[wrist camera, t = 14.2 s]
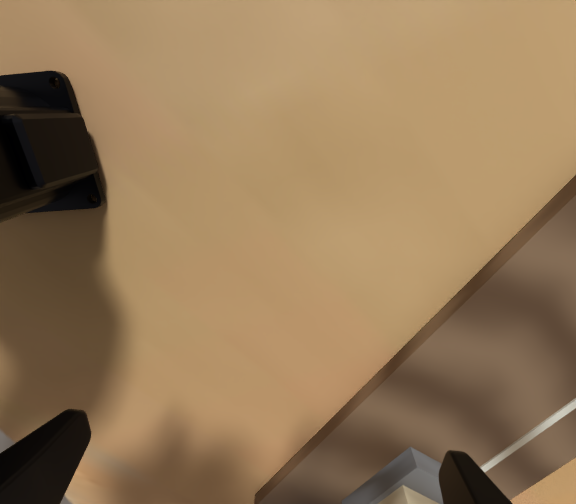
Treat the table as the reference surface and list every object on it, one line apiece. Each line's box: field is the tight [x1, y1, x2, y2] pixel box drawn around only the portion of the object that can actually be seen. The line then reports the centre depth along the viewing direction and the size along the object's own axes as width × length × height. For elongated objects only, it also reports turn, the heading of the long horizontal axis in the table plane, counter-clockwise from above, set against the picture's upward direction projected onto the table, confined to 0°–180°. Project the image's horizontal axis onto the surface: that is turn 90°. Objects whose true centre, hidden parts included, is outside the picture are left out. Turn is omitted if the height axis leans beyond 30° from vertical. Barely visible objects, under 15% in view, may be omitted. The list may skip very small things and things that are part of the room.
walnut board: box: [255, 176, 576, 504], centre depth 23 cm, size 34×16×1 cm, turn 147°
